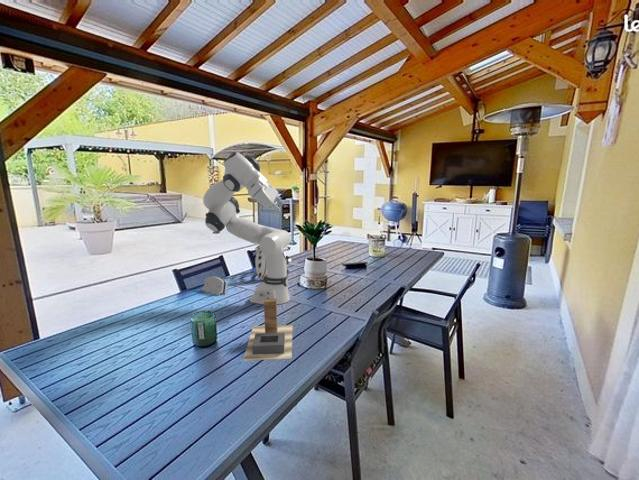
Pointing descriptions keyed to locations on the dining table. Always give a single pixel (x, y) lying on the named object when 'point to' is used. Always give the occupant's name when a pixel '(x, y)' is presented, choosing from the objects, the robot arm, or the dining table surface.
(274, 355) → the birch board
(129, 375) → the dining table surface
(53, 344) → the dining table surface
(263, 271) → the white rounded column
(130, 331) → the dining table surface
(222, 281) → the beige rounded block
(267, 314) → the walnut slat
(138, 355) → the dining table surface
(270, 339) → the rectangular frame
